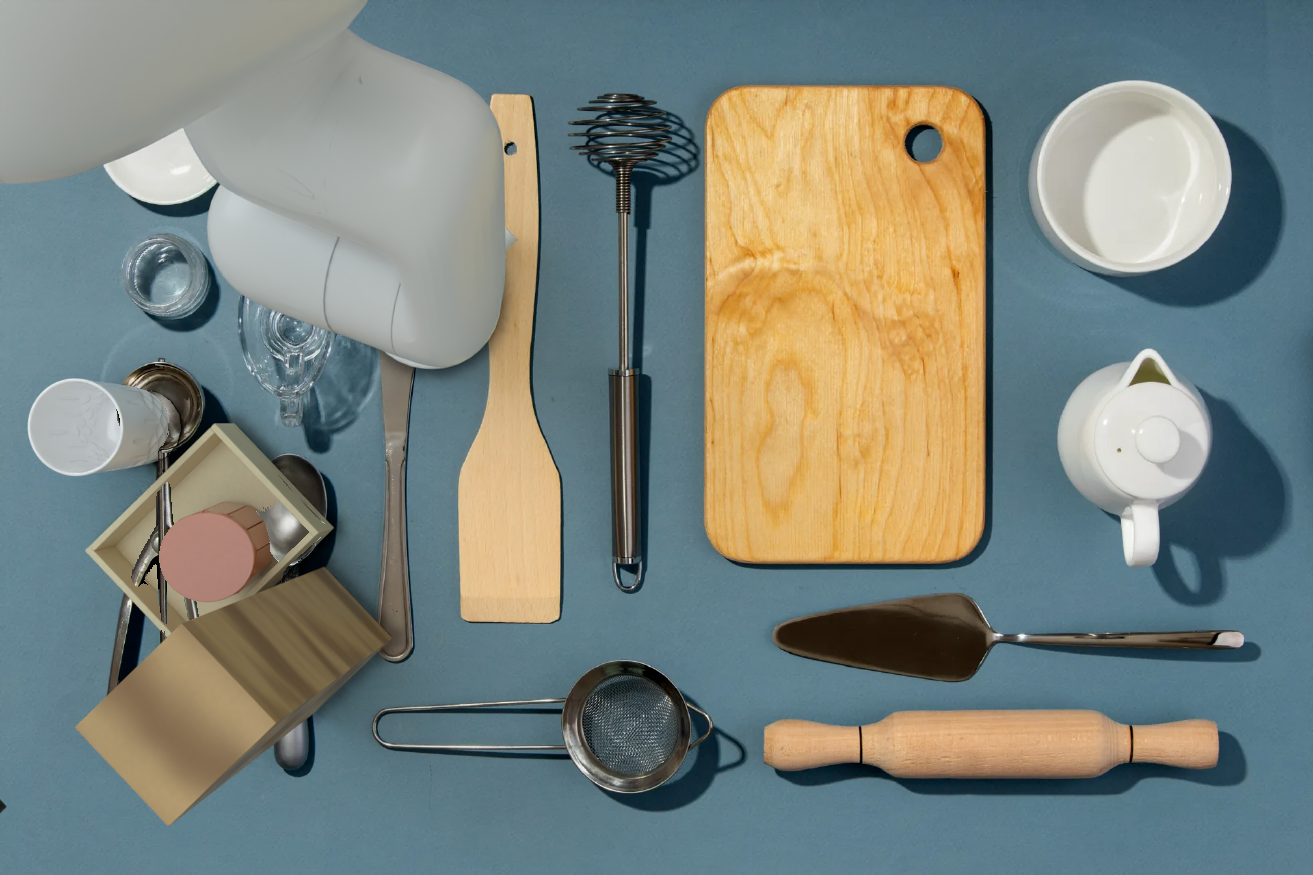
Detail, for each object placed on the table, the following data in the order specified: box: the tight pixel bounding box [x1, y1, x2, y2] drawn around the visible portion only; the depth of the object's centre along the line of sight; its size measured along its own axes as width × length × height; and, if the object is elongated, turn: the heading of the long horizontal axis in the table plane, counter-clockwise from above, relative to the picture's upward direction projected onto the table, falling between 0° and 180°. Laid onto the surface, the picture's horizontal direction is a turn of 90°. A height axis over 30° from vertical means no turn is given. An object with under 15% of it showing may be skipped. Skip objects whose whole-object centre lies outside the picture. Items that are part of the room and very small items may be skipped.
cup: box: [159, 502, 273, 602], centre depth 81 cm, size 8×8×6 cm
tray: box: [84, 422, 334, 638], centre depth 83 cm, size 16×13×4 cm
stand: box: [74, 566, 392, 827], centre depth 73 cm, size 10×9×24 cm
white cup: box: [27, 377, 171, 477], centre depth 80 cm, size 8×8×10 cm
